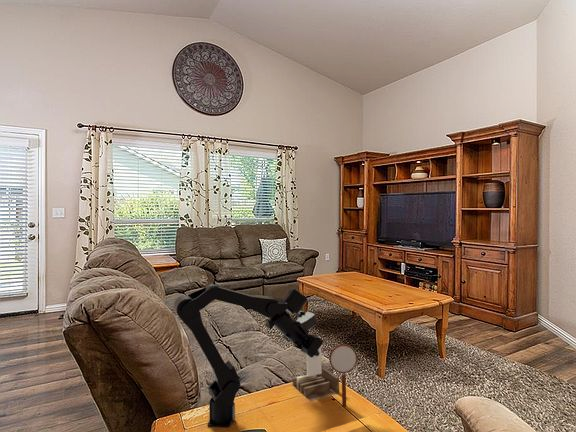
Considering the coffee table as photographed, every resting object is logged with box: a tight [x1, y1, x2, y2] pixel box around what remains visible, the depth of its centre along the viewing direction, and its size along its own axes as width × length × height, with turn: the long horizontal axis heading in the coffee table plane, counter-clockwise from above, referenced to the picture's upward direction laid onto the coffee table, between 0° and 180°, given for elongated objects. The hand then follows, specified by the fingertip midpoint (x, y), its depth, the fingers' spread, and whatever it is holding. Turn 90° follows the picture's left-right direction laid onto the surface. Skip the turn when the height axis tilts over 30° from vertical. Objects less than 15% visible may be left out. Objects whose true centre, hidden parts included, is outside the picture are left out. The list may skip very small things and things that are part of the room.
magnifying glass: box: [329, 343, 358, 408], centre depth 104 cm, size 9×2×20 cm, turn 94°
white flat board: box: [305, 335, 323, 377], centre depth 114 cm, size 5×1×12 cm, turn 116°
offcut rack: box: [291, 366, 340, 402], centre depth 115 cm, size 11×13×6 cm
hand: (317, 354), depth 114 cm, fingers closed on white flat board, 1 cm apart
